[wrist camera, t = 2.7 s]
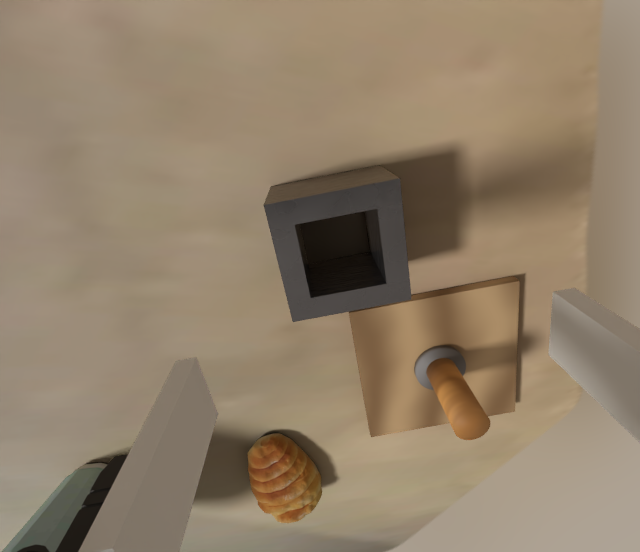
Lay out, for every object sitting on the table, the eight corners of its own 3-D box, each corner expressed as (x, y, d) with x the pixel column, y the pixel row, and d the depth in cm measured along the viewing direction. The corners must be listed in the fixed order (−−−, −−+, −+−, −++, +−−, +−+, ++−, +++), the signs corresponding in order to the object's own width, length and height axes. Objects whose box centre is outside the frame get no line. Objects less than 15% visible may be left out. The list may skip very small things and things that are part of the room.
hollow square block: (293, 284, 30) (292, 322, 25) (270, 186, 27) (263, 205, 22) (390, 265, 30) (411, 299, 25) (379, 165, 27) (399, 178, 22)
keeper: (369, 429, 37) (386, 506, 30) (347, 307, 31) (362, 365, 24) (509, 403, 37) (561, 476, 29) (513, 276, 31) (579, 326, 24)
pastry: (232, 440, 37) (225, 474, 34) (295, 419, 37) (295, 451, 33) (269, 499, 41) (267, 535, 37) (327, 481, 40) (330, 516, 37)
